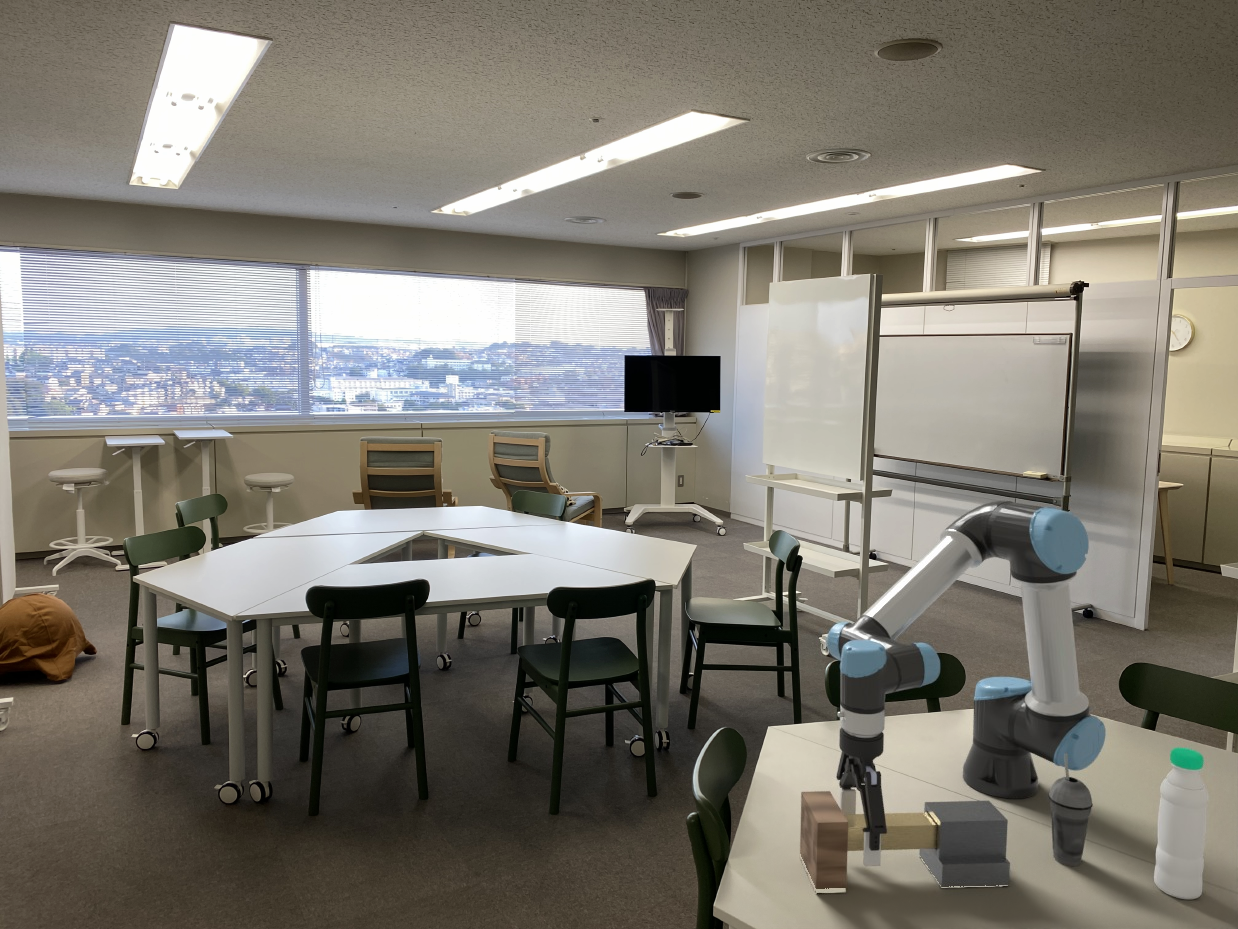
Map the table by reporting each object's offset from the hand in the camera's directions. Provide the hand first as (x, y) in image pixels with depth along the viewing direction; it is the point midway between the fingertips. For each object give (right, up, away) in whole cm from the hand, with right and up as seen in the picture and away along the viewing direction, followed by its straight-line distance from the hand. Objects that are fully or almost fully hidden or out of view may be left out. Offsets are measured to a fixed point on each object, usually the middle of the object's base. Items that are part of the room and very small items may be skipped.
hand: (859, 843), depth 155 cm
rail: (+4, 0, 0) cm, 4 cm away
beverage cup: (+40, -5, +5) cm, 41 cm away
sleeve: (+19, -6, +1) cm, 20 cm away
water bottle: (+54, -6, -4) cm, 55 cm away
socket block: (-6, -6, 0) cm, 8 cm away
